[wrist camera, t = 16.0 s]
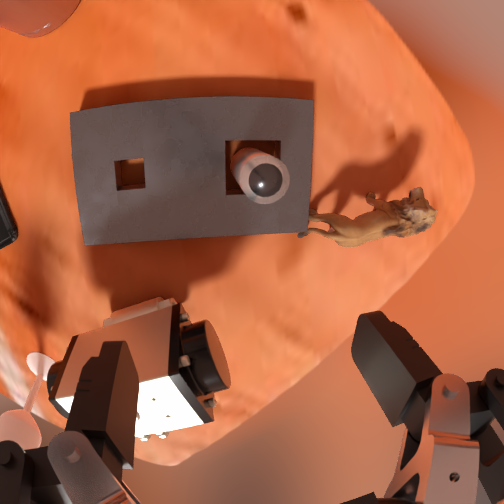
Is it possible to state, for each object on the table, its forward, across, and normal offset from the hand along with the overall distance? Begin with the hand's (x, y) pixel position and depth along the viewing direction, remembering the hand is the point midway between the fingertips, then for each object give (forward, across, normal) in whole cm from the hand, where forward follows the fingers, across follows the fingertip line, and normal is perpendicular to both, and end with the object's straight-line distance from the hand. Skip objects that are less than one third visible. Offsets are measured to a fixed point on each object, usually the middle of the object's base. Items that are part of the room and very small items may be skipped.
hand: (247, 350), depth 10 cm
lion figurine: (+24, -17, +3) cm, 30 cm away
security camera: (+24, +9, +16) cm, 30 cm away
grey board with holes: (+24, +2, -2) cm, 25 cm away
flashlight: (+24, -4, -2) cm, 25 cm away
